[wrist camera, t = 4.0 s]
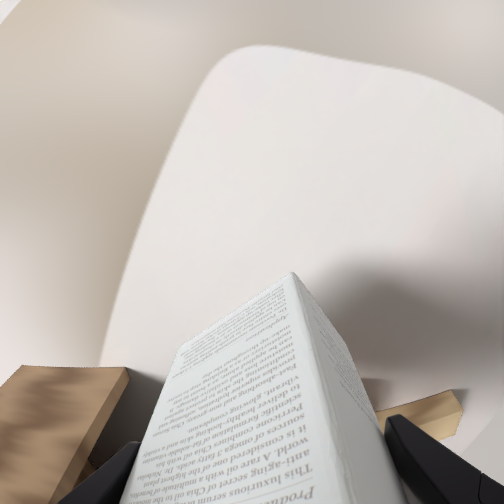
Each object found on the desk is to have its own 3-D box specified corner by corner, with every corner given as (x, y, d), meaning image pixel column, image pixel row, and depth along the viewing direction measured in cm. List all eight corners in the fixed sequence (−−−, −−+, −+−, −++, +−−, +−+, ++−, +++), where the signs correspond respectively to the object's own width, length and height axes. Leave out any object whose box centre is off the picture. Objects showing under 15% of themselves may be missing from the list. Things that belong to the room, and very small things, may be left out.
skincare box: (239, 403, 14) (212, 647, 3) (178, 343, 13) (71, 613, 2) (350, 340, 13) (447, 616, 1) (295, 264, 12) (381, 653, 1)
